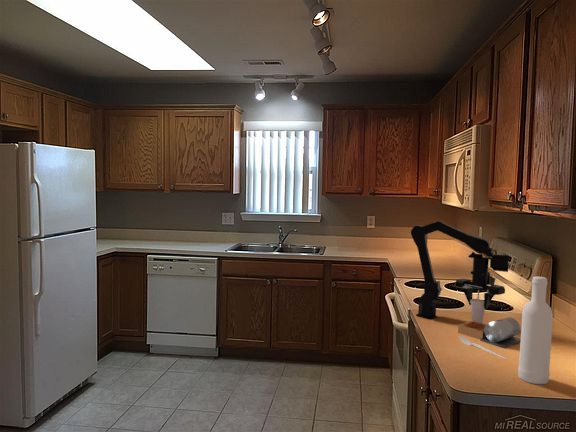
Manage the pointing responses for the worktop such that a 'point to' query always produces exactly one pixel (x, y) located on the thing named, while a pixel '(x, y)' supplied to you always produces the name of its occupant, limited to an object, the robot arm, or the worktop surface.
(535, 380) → the bottle
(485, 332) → the motor unit
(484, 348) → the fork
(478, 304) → the white cup with straw
